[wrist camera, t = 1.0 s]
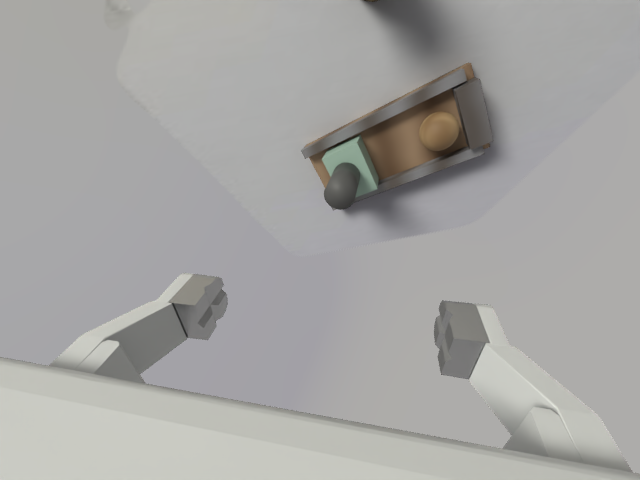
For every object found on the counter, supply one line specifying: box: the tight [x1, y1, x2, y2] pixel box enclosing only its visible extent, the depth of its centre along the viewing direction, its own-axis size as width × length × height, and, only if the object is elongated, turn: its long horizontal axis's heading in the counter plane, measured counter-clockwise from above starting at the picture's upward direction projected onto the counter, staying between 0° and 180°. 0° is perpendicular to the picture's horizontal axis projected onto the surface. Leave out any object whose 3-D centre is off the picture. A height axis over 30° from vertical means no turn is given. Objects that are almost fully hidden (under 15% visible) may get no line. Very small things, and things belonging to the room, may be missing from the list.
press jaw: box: [322, 135, 379, 209], centre depth 36 cm, size 5×7×10 cm
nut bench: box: [301, 63, 493, 210], centre depth 37 cm, size 22×10×4 cm, turn 118°
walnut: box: [419, 111, 459, 151], centre depth 34 cm, size 4×4×4 cm
